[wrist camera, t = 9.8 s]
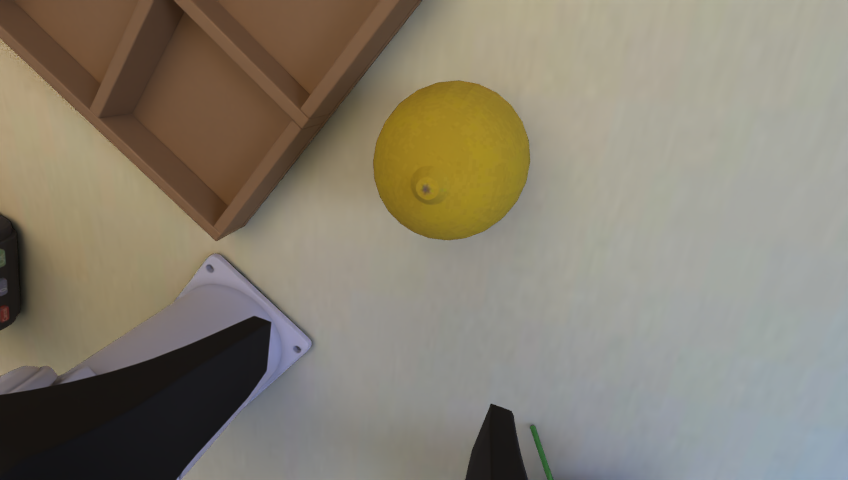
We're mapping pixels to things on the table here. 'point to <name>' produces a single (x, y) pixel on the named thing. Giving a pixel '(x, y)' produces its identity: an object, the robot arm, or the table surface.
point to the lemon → (451, 160)
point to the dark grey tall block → (8, 274)
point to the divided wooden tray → (205, 83)
